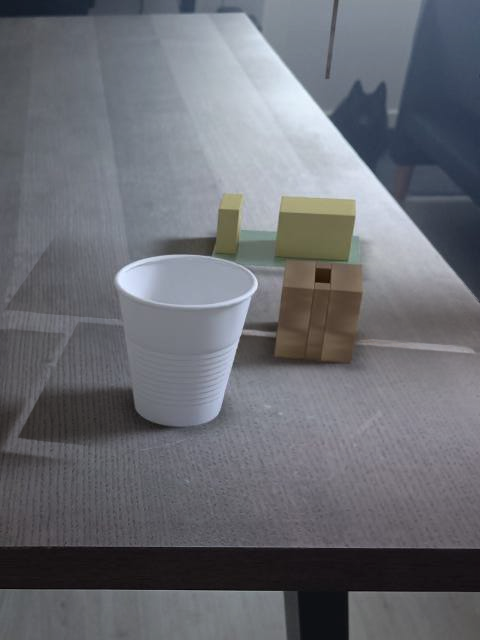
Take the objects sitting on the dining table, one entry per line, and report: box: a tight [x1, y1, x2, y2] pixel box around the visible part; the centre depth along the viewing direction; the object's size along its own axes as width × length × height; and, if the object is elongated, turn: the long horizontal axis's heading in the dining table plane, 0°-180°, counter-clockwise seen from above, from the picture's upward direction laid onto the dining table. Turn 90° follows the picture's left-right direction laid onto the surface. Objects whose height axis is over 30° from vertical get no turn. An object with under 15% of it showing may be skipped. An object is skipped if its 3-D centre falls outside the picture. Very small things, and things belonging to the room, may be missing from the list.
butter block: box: [274, 195, 357, 261], centre depth 101 cm, size 7×5×4 cm
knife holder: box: [273, 260, 364, 364], centre depth 84 cm, size 6×6×7 cm
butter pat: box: [215, 193, 244, 254], centre depth 103 cm, size 2×5×4 cm, turn 164°
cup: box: [113, 254, 259, 428], centre depth 75 cm, size 10×10×11 cm
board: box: [211, 229, 361, 268], centre depth 104 cm, size 14×10×2 cm
